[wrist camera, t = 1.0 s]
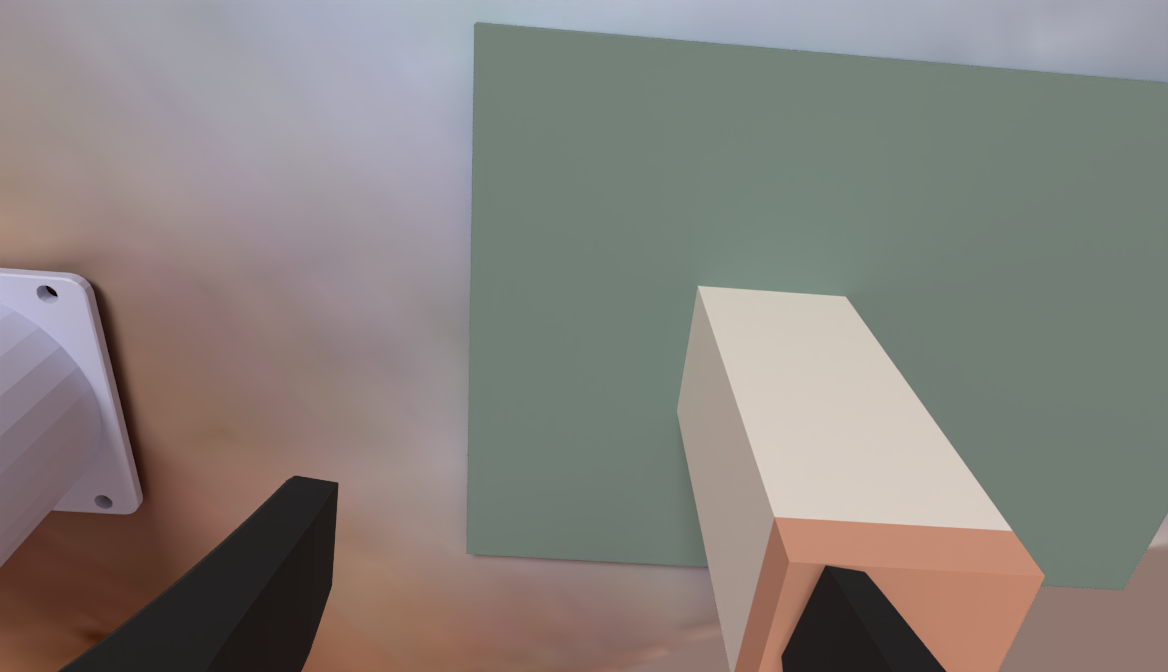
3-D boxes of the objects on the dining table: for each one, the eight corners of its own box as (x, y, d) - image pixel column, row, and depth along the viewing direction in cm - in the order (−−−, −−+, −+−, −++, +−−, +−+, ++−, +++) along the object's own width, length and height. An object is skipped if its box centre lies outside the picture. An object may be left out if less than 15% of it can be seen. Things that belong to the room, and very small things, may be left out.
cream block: (676, 411, 22) (741, 730, 14) (697, 285, 21) (790, 561, 12) (812, 419, 23) (963, 740, 14) (845, 296, 21) (1045, 575, 12)
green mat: (467, 545, 25) (466, 553, 25) (476, 22, 18) (474, 24, 17) (1116, 581, 26) (1123, 590, 26) (1385, 102, 19) (1400, 105, 18)
